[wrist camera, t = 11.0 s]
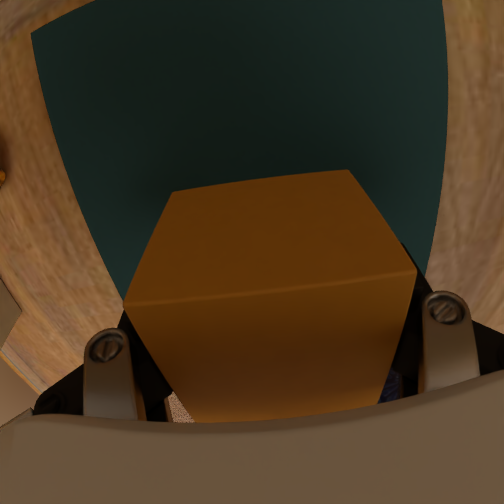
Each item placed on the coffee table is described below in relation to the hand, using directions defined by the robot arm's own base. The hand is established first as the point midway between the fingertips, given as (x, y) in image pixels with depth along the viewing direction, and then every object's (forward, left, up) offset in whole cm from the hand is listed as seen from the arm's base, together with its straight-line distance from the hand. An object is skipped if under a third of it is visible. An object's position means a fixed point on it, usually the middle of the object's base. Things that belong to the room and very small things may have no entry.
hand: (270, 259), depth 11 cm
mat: (-1, 0, -6) cm, 6 cm away
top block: (0, 0, 0) cm, 0 cm away
